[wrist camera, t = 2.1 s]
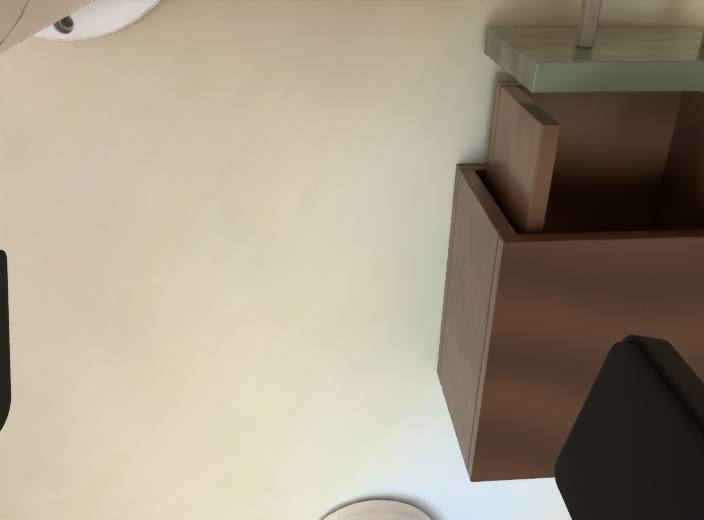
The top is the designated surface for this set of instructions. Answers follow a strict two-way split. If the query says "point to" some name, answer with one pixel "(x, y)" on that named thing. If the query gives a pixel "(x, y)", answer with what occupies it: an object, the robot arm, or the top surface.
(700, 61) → the drawer
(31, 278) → the top surface
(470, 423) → the cabinet
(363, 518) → the white short round piece
